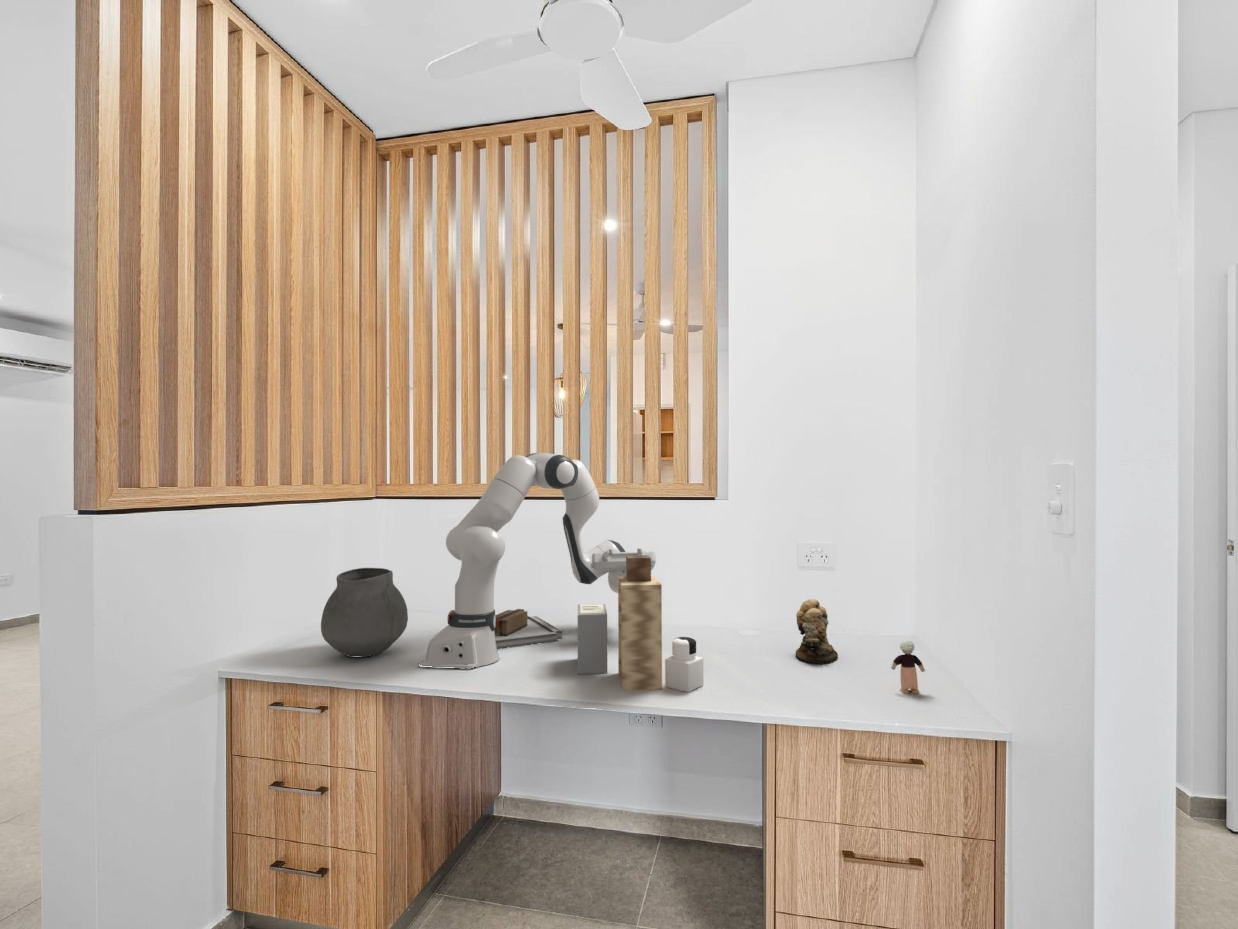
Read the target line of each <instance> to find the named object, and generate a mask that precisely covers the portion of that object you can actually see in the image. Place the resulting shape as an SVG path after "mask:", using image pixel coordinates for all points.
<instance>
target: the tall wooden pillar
mask: <svg viewBox="0 0 1238 929" xmlns="http://www.w3.org/2000/svg"><path fill="white" fill-rule="evenodd" d="M662 587H663V586H662V584H661V582H660V581H659V580H658V578H657V577H656V576H655V575H651V581H634V582H628V581H627V579H626V576H620V577H618V593H617V594H618V597H617V600H618V602H617V606H618V608H617V614H618V617H617V619H618V620H617V621H618V622H617V623H618V624H617V626H618V629H617V630H618V635H617V636H618V637H617V638H618V639H617V640H618V644H617V645H618V647H617V648H618V662H617V664H618V666H617V667H618V669H617V671H618V678H619V681H620V682H619V683H620V687H621V691H644V690H645V691H646V690H648V691H649V690H653V691H655V690H663V653H662V652H663V641H662V640H663V636H662V635H663V634H662V632H663V630H662V629H663V627H662V625H663V624H662V621H663V620H662V618H663V617H662V615H663V614H662V607H663V606H662V605H663V604H662V600H663V599H662Z"/></svg>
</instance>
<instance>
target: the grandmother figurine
mask: <svg viewBox="0 0 1238 929" xmlns="http://www.w3.org/2000/svg"><path fill="white" fill-rule="evenodd" d="M915 647H916V646H915V644H914V642H913V641H912V640H910V639H904V640H901V642H900V643H899V648H900V649H899V650H901V651H902V653H904V654H899V655H897V656H896V657H895V658H894V660H893V661H892V665H891V666H890V668H891V670H896V669H897V668H896V667H897V666H899V665H900V688H899V691H900V693H903V694H910V692H911V693H912V694H919V693H920V689H919V685H918V684H919V682H918V674H917V668H916V666H917V667H918V668H919V669H920V670H919V671H920V672H922V673H924V672H926V669H925V667H924V665H923V662H922V661H921V659H919V657H918V656H917V655H915V654H913V652H914V650H915ZM909 690H910V691H909Z"/></svg>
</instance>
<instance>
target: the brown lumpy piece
mask: <svg viewBox="0 0 1238 929" xmlns="http://www.w3.org/2000/svg"><path fill="white" fill-rule="evenodd" d="M795 617H796V625H797V629H798V631H799V633H800V635H802V636H803V637H802V641H801V642H800V645H799V648H797V649H796V650H795V658H796V657H797V658H796V659H797V660H799V662H802V661H803V662H805V663H806V664H808V663H814V664H815V663H816V664H820V665H828V664H832V663H834V662H835V661H837V660H838V657H839V655H838V652H837V651H836V650H835V648H834V647H833V645H832V644H830V643H829V640H828V637H827V634H828V633H827V630H828V625H829V618H828V617H829V616H828V613H827V610H826V607H823V605H822V606H821V605H820V602H819V601H818V600H817V599H816V598H811V599H807V600H805V601H803V602H802V603H801V604H800V608H799V609H798V610H797V612H796V616H795ZM831 662H832V663H831Z"/></svg>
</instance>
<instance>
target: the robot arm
mask: <svg viewBox="0 0 1238 929" xmlns="http://www.w3.org/2000/svg"><path fill="white" fill-rule="evenodd" d="M533 486H535V487H540V488H543V489H553V490H554V489H555V490H560V491H561V494H562V496H563V498H564V500H565V501H564V502H565V512H564V515H563V516H562V525H563V531H564V535H565V539H566V544H567V548H568V553H569V557H570V564H571V569H572V573H573V576H574V577H575V579H576V580H577V582H579V583H581V584H584V585H592V584H593V583H594V582H596V581H598V579H600V578H601V577H602V576H604V575H607V582H608V587H609V588H610V590H611V591H612V592H613V593H616V594H618V577H620V576H626V555H649V556H650V558H651V571H653V569H654V568H655V565H656V562H657V559H656V557H657V556H656V552H654V551H652V550H651V551H644V550H643V548H637V549H636V551H626V550H625V549H624V547H623V545H621V543H619V542H617V541H615V540H613V539H607V540H604V541H603V542H601V543H599V544H597V545H596V546H595V547H593V548H591V549H589V550H588V551H586V552H584V549H583V545H582V540H581V532H582V530H583V528H584V526H585V524H587V522H588V521H589V520H590V519H591V518H592V517H593V515H594V514H595V513H596V512H597V509H598V508H599V504H600V495H599V491H598V488H597V486H596V484H595V482H594V479H593V478H592V475H591V474H590V472H589V471H588V469H587V467H586V466H585V464H584V463H583V462H582V461H581V460H579V459H571V458H570V457H568V456H565V455H563V454H556V453H555V454H554V453H551V452H541V453H540V452H539V453H538V452H533V453H530V454H528V455H519V454H517V455H513V456H511V457H509V459H508V460H506V461H505V463H504V464H503V465H502V466H501V467H500V469H499V470H498V471H497V473H495V476H494V477H493V478H492V480H491V482H490V483H489V485H488V486H487V488H486V489H485V491H484V493H482V496H481V497H480V499H479V500H478V501H477V503H476V504H475V505H474V507H472V509H471V510H470V511H469V512H468V513H467V514H465V516H464V517H463V518H462V520H460V522H459V523H458V524H457V525H455V527H453V528H451V530H450V531H449V532H448V534H446V538H445V546H446V548H447V551H448V552H449V553H450V555H451V556H453V558H455V559H456V560H458V561H461V567H460V571H459V576H458V579H457V580H456V581H455V584H454V609H451V610H450V611H449V612H448V614H447V624H448V625H446V626H445V627H444V628H442V629H441V630H439V632H438V633H436V634H435V635H434V636H432V638H431V639H430V641H428V642H429V643H428V644H427V649H426V653H425V654H423V655H422V656H421V657H419V659H418V664H420V665H422V666H432V667H454V668H467V669H466V670H472V669H471V668H473V669H475V668H474V667H476V668H479V667H482V666H488V665H491V664H493V663H496V662H498V661H499V660H500V655H499V652H498V649H497V647H496V641H495V632H494V630H495V626H496V615H497V614H496V610H495V609H494V608H495V606H494V605H495V599H494V598H495V597H494V596H495V579H496V574H497V571H498V567H499V566H498V565H499V562H500V561H501V559H502V558H503V556H504V553H505V550H506V543H505V542H506V541H505V539H504V538H503V536H502V535H501V534H500V533H499V531H500V530H501V529H502V528H503V527H505V525H507V524H508V523H510V522H511V520H512V519H513V518H514V516H515V514H516V513H517V511H518V510H519V508H520V506H521V504H522V503H523V501H524V499H525V498H526V496H527V494H528V492H529V491H530V489H531V488H532V487H533ZM607 573H608V574H607Z"/></svg>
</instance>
